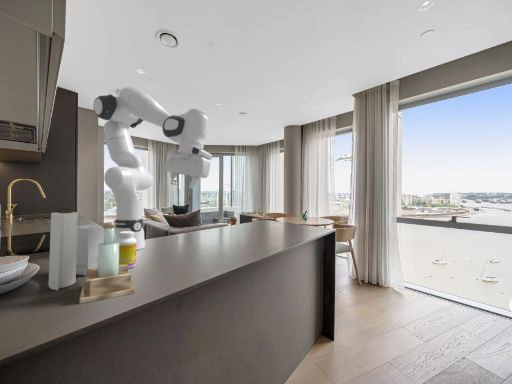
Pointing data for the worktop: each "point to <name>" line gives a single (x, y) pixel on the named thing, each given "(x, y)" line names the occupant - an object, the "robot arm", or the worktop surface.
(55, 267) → the paper towel roll
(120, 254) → the supplement bottle
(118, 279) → the bottle stand
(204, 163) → the robot arm
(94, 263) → the skincare box
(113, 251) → the glass bottle
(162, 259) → the worktop surface
